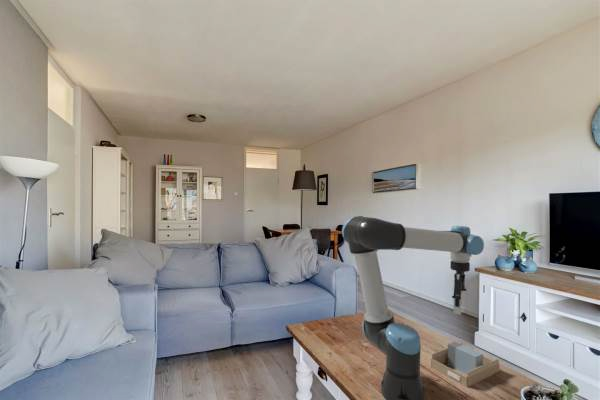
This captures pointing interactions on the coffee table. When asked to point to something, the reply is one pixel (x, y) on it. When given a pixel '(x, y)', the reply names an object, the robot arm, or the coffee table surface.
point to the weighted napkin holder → (463, 357)
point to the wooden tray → (472, 376)
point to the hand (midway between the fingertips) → (459, 309)
